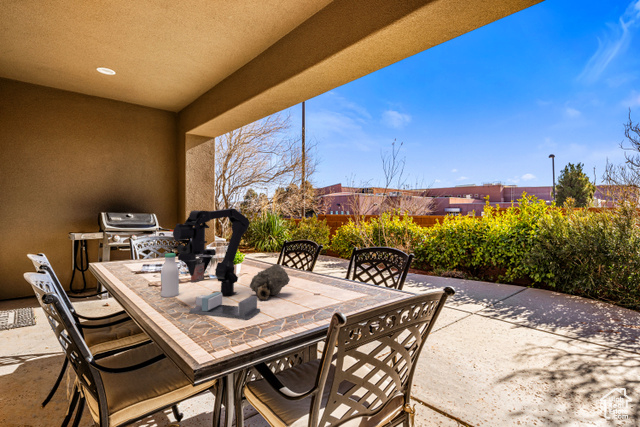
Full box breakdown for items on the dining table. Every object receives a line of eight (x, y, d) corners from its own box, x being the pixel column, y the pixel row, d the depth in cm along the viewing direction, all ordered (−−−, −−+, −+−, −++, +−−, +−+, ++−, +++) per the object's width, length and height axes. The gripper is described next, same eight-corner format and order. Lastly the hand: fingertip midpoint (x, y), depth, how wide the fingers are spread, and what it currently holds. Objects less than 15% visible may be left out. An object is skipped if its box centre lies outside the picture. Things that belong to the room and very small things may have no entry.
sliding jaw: (206, 302, 132) (206, 290, 132) (223, 304, 130) (223, 292, 130) (190, 309, 122) (191, 296, 122) (208, 311, 120) (208, 298, 120)
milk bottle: (182, 294, 150) (182, 253, 150) (169, 298, 143) (170, 255, 143) (169, 292, 153) (170, 252, 152) (156, 296, 145) (157, 254, 145)
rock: (275, 258, 157) (271, 257, 142) (294, 279, 155) (292, 281, 140) (247, 283, 154) (240, 284, 140) (266, 305, 153) (261, 309, 138)
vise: (204, 305, 132) (205, 291, 132) (260, 311, 125) (260, 296, 125) (189, 313, 122) (189, 297, 122) (248, 319, 116) (248, 303, 115)
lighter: (195, 282, 132) (195, 259, 132) (188, 282, 133) (188, 259, 133) (206, 279, 140) (206, 257, 140) (199, 278, 141) (199, 256, 141)
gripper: (196, 236, 148) (195, 269, 148) (167, 239, 130) (166, 276, 130) (216, 237, 145) (216, 270, 145) (189, 240, 127) (189, 278, 127)
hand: (197, 273), depth 136 cm, fingers closed on lighter, 8 cm apart
